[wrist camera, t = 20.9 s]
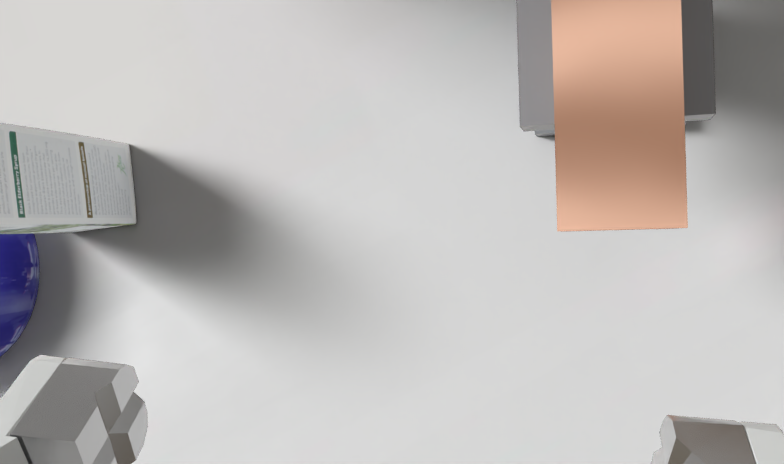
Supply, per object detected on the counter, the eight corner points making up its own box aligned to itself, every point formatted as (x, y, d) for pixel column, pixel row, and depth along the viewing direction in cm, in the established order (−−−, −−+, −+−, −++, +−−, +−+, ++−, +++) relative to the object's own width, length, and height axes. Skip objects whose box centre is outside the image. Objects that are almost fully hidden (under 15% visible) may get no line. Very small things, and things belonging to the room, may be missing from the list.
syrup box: (131, 141, 51) (-47, 106, 37) (140, 227, 51) (-36, 225, 37) (60, 153, 52) (-137, 124, 38) (68, 237, 52) (-127, 239, 38)
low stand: (531, -61, 44) (497, -207, 29) (677, -80, 41) (719, -248, 27) (537, 162, 43) (506, 127, 29) (684, 154, 41) (730, 112, 27)
